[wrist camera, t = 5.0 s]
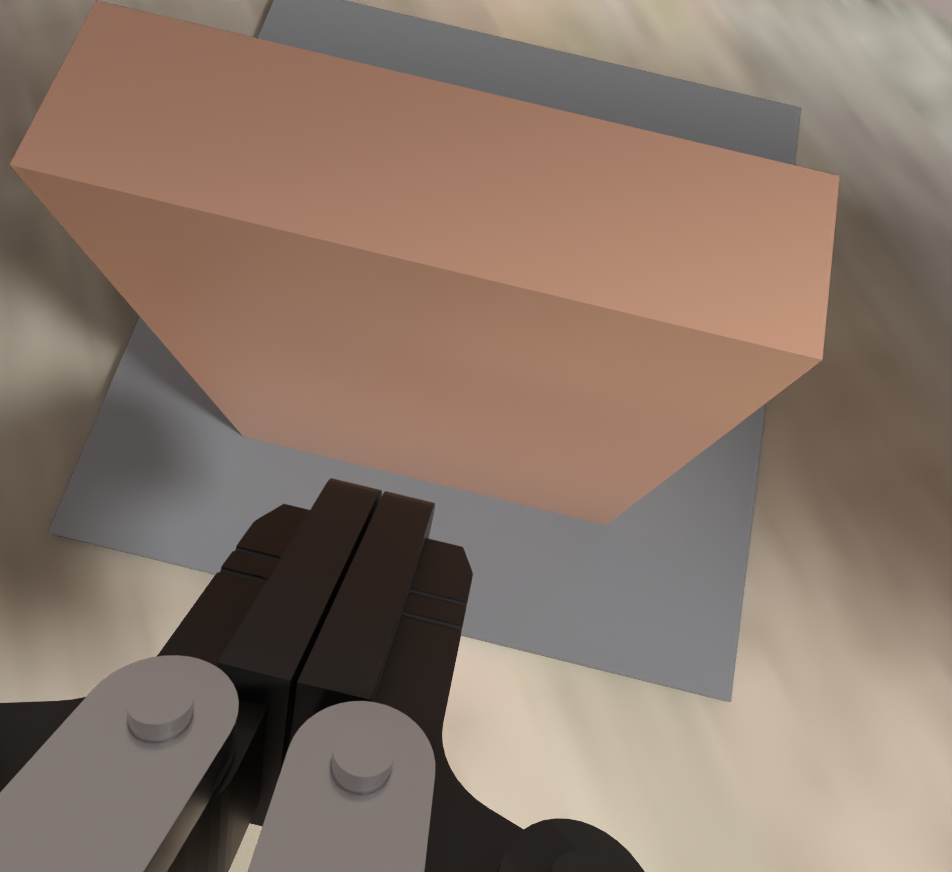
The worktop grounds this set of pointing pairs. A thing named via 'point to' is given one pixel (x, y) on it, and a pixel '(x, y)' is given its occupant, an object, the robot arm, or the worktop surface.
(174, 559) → the mat
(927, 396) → the worktop surface
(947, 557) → the worktop surface
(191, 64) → the tile
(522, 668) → the worktop surface
